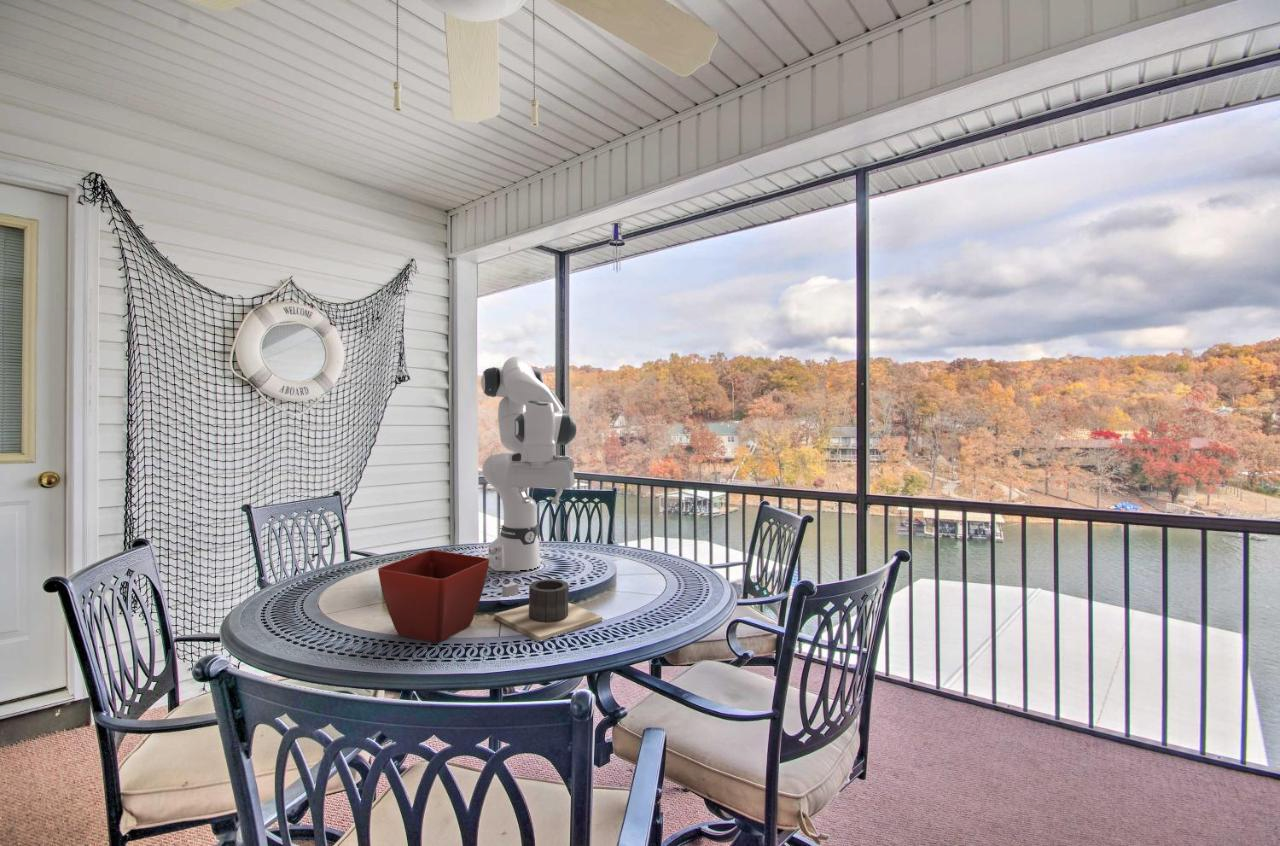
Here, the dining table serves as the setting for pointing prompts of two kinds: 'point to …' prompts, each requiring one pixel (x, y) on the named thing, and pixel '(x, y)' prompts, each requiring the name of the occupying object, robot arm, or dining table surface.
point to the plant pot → (433, 593)
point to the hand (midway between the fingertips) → (540, 503)
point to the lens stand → (547, 612)
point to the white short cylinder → (509, 590)
